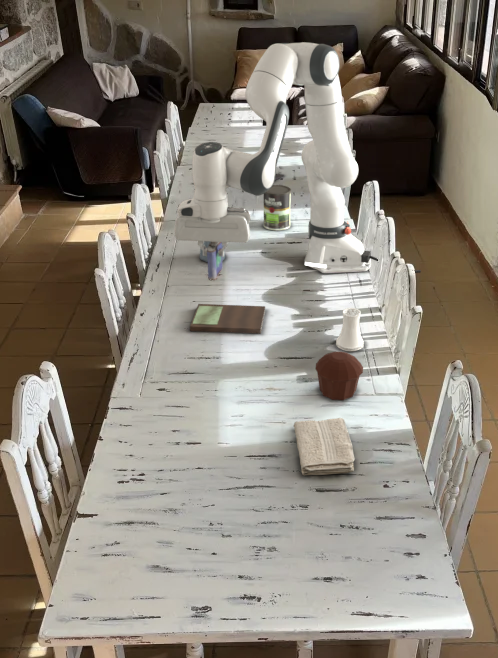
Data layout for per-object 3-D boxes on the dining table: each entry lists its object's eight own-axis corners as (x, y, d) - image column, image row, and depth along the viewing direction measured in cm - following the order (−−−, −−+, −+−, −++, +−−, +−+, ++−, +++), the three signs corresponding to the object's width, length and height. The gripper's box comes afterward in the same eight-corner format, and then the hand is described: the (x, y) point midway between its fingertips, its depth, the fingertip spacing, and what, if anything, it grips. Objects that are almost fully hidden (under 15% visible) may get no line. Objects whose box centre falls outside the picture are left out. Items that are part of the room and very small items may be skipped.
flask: (215, 281, 199) (213, 244, 194) (205, 280, 200) (203, 243, 194) (224, 267, 207) (222, 232, 201) (214, 267, 208) (212, 231, 202)
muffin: (308, 397, 178) (309, 362, 172) (322, 374, 187) (323, 340, 181) (354, 407, 175) (357, 372, 169) (367, 383, 183) (369, 349, 178)
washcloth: (301, 478, 152) (301, 467, 151) (291, 427, 167) (292, 416, 166) (357, 474, 154) (358, 463, 152) (342, 424, 169) (343, 413, 167)
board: (265, 310, 216) (265, 305, 215) (260, 333, 204) (260, 328, 203) (198, 308, 217) (198, 303, 216) (190, 331, 205) (189, 326, 204)
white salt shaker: (348, 334, 204) (350, 303, 199) (369, 344, 200) (371, 312, 194) (330, 344, 200) (331, 311, 194) (350, 354, 195) (352, 321, 190)
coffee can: (284, 232, 269) (284, 195, 261) (259, 228, 272) (258, 191, 264) (294, 223, 277) (295, 186, 269) (270, 219, 280) (269, 183, 272)
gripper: (251, 204, 195) (252, 252, 202) (175, 201, 195) (179, 249, 203) (248, 212, 189) (249, 261, 197) (171, 209, 190) (175, 258, 198)
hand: (213, 255), depth 200 cm, fingers closed on flask, 3 cm apart
